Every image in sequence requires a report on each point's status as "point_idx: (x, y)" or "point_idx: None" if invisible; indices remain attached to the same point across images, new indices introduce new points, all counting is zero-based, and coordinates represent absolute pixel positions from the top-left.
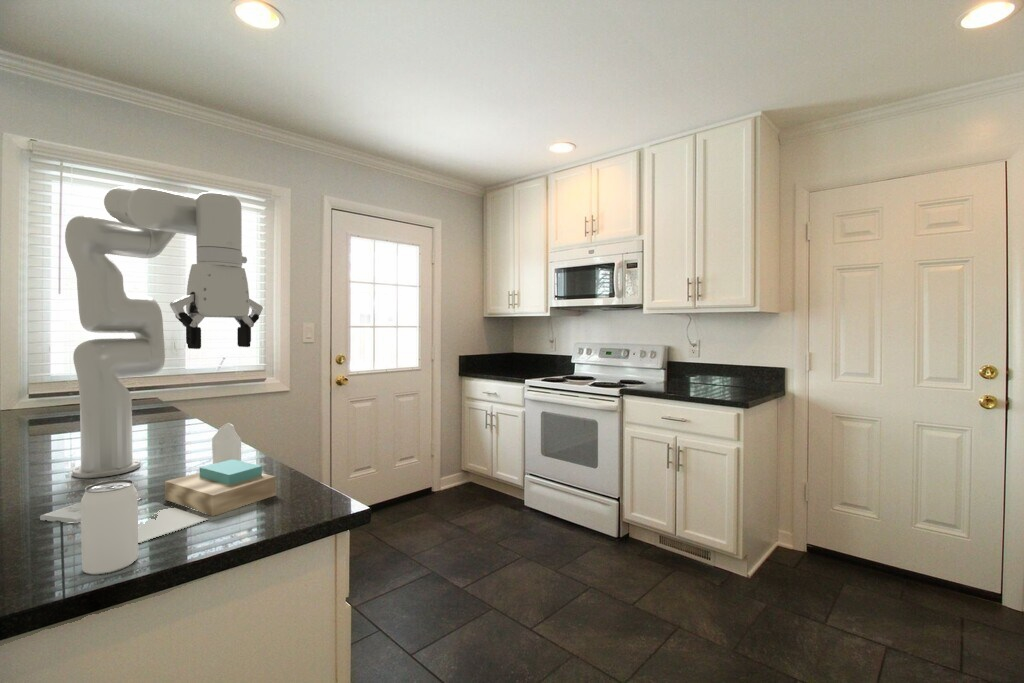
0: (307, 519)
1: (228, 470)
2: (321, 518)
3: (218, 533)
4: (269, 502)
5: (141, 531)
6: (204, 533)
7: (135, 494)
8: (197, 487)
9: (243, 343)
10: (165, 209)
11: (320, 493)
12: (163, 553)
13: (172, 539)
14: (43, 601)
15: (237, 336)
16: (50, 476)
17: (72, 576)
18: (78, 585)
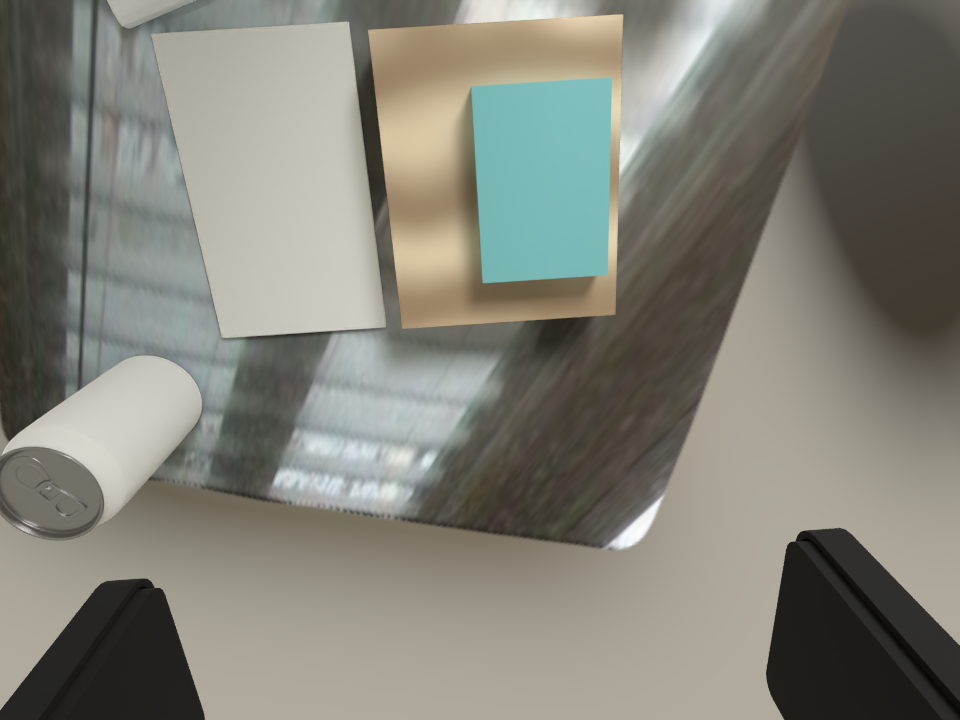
0: (529, 501)
1: (511, 228)
2: (550, 520)
3: (366, 418)
4: (553, 334)
5: (244, 272)
6: (346, 394)
7: (120, 509)
8: (408, 214)
9: (791, 668)
10: None
11: (675, 386)
12: (248, 424)
13: (285, 369)
14: None
15: (883, 642)
16: None
17: None
18: None
